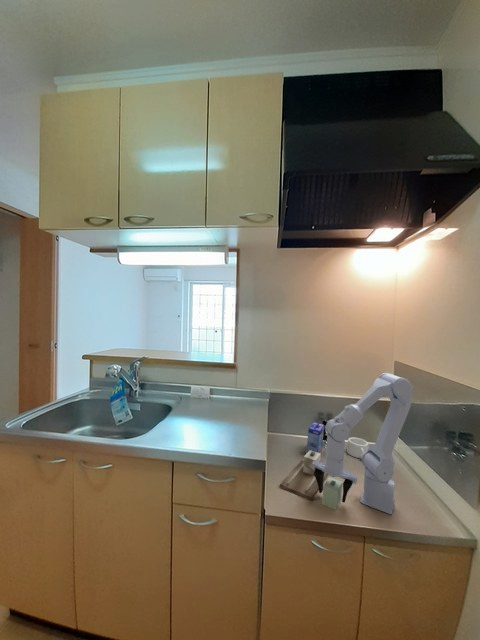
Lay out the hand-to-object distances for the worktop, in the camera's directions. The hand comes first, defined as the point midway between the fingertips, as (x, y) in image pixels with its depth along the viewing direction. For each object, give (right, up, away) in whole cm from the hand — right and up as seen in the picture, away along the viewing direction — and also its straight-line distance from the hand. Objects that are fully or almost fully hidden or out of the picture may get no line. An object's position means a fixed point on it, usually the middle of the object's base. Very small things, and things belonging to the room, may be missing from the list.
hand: (332, 496), depth 94 cm
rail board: (-6, -1, +12) cm, 14 cm away
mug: (+24, -3, +35) cm, 42 cm away
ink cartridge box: (+3, -2, +35) cm, 35 cm away
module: (0, -2, 0) cm, 2 cm away
